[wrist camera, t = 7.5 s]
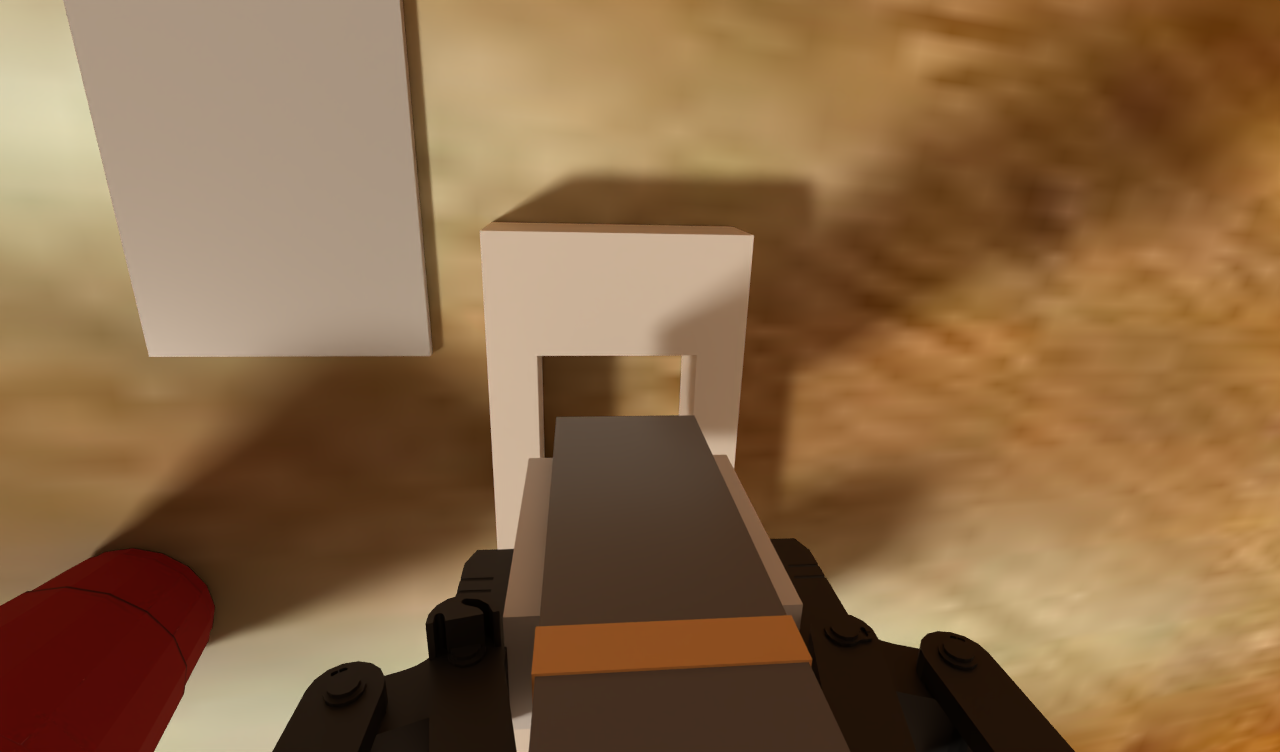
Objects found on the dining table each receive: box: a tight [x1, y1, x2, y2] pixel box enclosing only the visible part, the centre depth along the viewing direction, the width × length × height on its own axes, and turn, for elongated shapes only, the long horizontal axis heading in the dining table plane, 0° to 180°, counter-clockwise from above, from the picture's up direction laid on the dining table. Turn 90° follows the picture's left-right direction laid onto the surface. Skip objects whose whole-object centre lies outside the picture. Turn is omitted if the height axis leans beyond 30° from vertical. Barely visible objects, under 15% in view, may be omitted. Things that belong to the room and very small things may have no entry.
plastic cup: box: [0, 548, 215, 752], centre depth 21 cm, size 11×11×12 cm
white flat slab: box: [63, 0, 433, 357], centre depth 21 cm, size 12×10×1 cm
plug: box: [529, 415, 850, 752], centre depth 14 cm, size 4×4×12 cm
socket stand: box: [480, 222, 754, 752], centre depth 20 cm, size 26×9×15 cm, turn 178°
